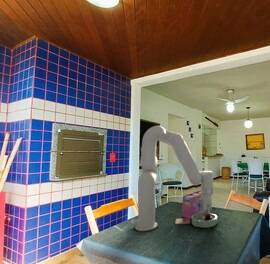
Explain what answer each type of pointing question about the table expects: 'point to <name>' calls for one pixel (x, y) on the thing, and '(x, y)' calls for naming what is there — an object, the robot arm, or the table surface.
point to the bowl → (198, 221)
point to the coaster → (183, 221)
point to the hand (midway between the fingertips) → (207, 221)
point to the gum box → (192, 204)
